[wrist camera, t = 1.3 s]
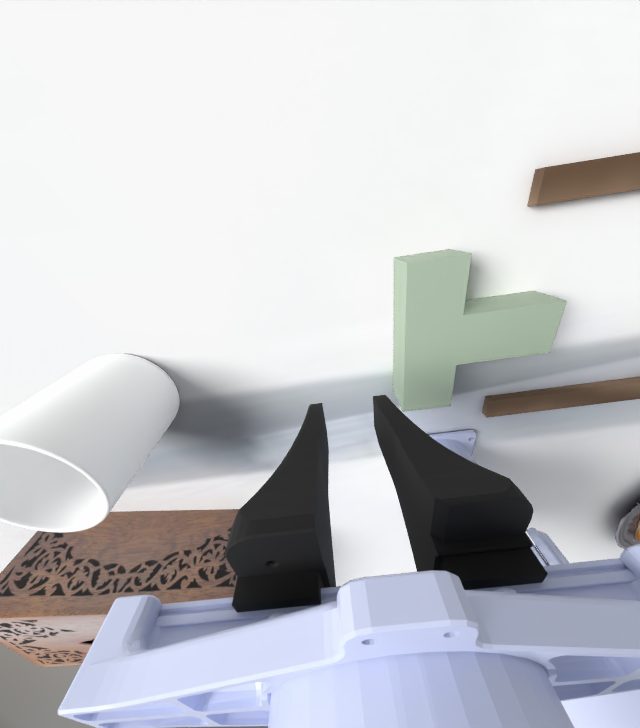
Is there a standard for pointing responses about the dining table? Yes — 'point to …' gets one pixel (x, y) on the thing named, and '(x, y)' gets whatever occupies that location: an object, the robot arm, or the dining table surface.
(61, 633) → the tissue box cover
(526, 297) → the t block
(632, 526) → the food plate
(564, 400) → the bracket
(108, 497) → the cup
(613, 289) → the dining table surface
